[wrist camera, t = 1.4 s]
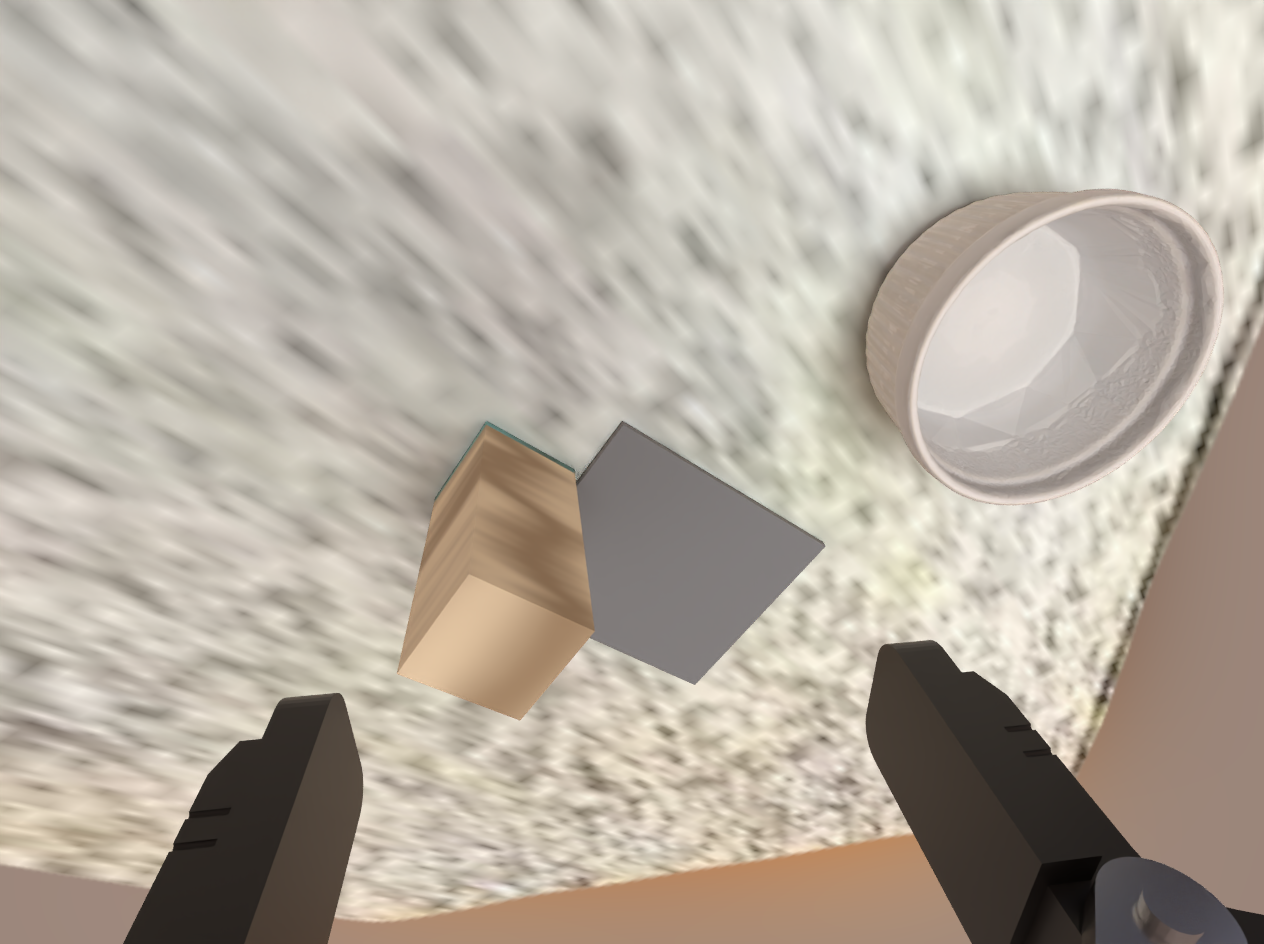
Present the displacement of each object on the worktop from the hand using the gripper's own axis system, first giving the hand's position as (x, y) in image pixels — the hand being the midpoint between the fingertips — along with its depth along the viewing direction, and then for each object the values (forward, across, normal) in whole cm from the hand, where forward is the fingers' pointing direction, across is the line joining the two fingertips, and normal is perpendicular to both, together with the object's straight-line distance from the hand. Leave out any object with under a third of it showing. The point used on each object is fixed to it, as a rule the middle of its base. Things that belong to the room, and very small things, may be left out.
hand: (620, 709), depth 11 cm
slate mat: (+24, -5, +14) cm, 28 cm away
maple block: (+24, +3, +8) cm, 25 cm away
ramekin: (+24, -20, +1) cm, 31 cm away
